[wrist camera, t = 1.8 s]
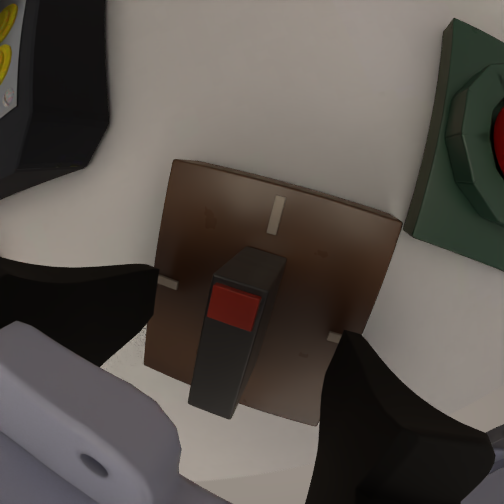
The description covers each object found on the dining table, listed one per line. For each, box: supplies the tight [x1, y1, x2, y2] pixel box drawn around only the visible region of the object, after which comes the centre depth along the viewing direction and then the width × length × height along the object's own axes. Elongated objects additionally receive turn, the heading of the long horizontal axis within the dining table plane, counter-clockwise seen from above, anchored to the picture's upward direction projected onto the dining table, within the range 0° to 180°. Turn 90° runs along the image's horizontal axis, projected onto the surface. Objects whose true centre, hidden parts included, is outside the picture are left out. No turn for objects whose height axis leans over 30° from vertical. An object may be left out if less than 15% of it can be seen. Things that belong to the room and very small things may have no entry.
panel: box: [144, 159, 403, 426], centre depth 14 cm, size 10×9×3 cm
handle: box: [188, 246, 287, 419], centre depth 11 cm, size 5×2×4 cm, turn 166°
